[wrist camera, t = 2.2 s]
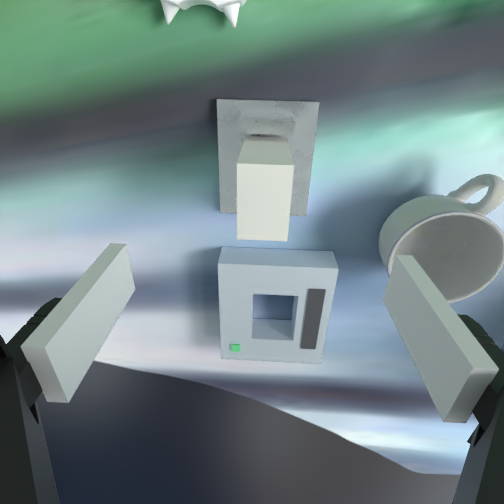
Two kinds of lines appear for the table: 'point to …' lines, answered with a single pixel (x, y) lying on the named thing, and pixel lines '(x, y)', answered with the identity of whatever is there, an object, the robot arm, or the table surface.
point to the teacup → (449, 237)
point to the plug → (264, 189)
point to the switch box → (275, 283)
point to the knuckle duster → (227, 3)
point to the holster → (266, 125)
